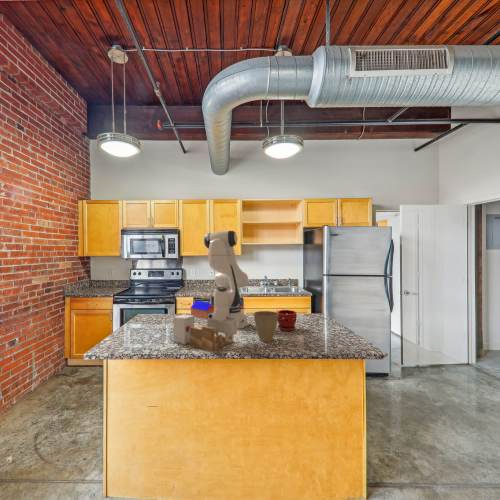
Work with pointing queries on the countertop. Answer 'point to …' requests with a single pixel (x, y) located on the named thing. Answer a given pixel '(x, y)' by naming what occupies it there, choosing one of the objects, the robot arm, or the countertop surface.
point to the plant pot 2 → (287, 320)
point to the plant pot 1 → (266, 324)
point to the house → (201, 309)
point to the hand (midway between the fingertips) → (221, 339)
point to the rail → (230, 338)
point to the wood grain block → (205, 338)
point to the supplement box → (182, 328)
